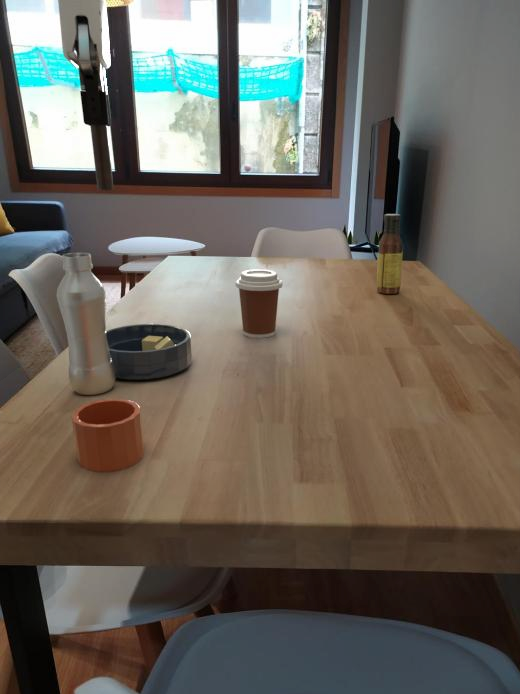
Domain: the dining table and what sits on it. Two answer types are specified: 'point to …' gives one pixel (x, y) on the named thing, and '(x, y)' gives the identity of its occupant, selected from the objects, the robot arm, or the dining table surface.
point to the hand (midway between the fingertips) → (98, 124)
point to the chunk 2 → (164, 343)
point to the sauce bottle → (390, 257)
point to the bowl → (148, 363)
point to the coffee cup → (259, 302)
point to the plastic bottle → (85, 326)
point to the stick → (102, 157)
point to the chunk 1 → (150, 342)
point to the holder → (108, 435)
